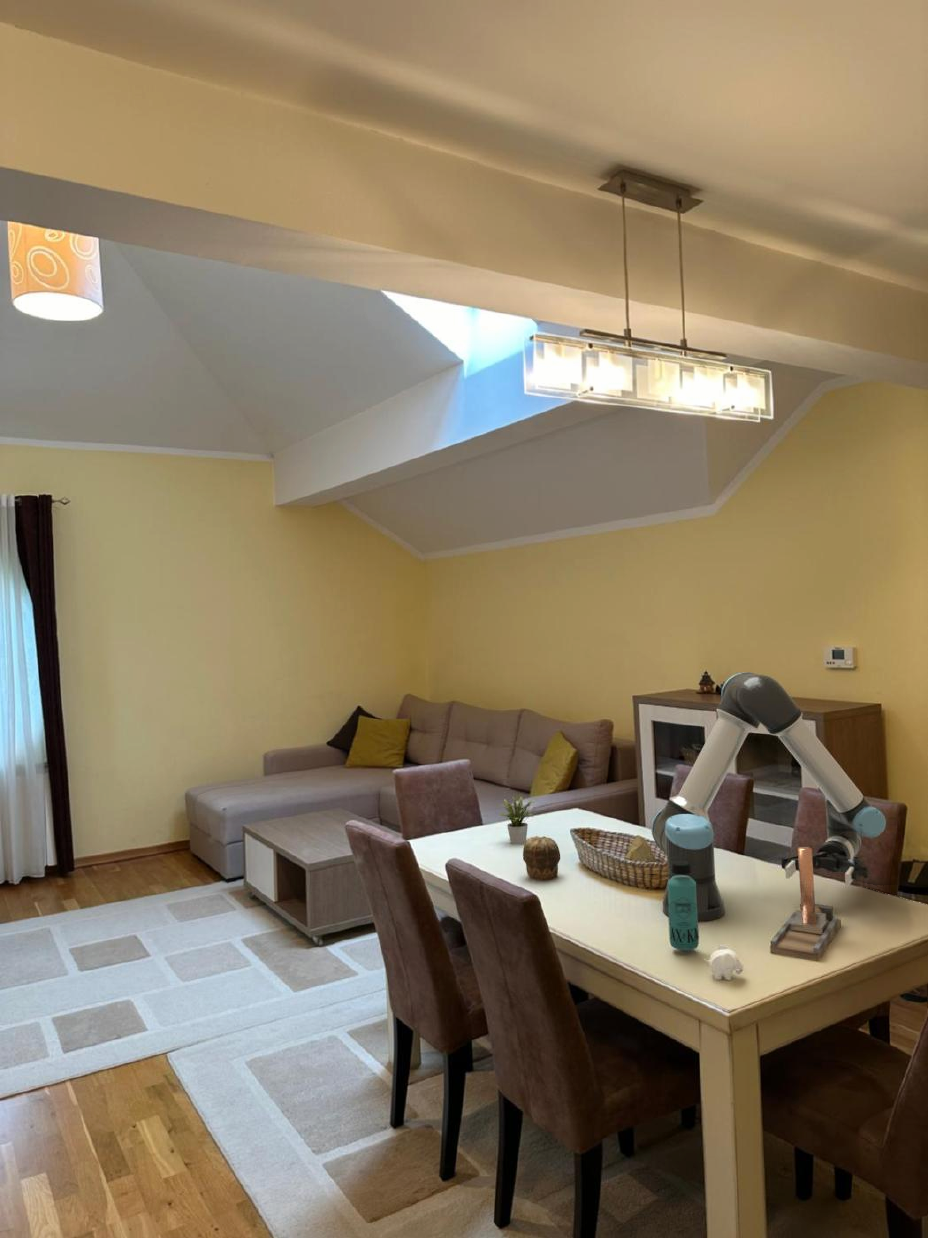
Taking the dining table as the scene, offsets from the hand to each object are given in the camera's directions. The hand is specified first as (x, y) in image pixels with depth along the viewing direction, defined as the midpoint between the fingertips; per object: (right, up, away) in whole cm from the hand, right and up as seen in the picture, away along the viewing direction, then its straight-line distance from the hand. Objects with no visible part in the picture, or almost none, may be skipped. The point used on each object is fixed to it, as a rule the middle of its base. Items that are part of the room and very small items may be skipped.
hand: (816, 876), depth 205 cm
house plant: (-65, -16, +88) cm, 111 cm away
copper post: (-5, -10, -8) cm, 13 cm away
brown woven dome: (-61, -15, +48) cm, 79 cm away
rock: (-32, -14, +50) cm, 61 cm away
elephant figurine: (-31, -13, -28) cm, 43 cm away
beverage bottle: (-35, -13, -14) cm, 40 cm away
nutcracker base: (-6, -11, -10) cm, 16 cm away
